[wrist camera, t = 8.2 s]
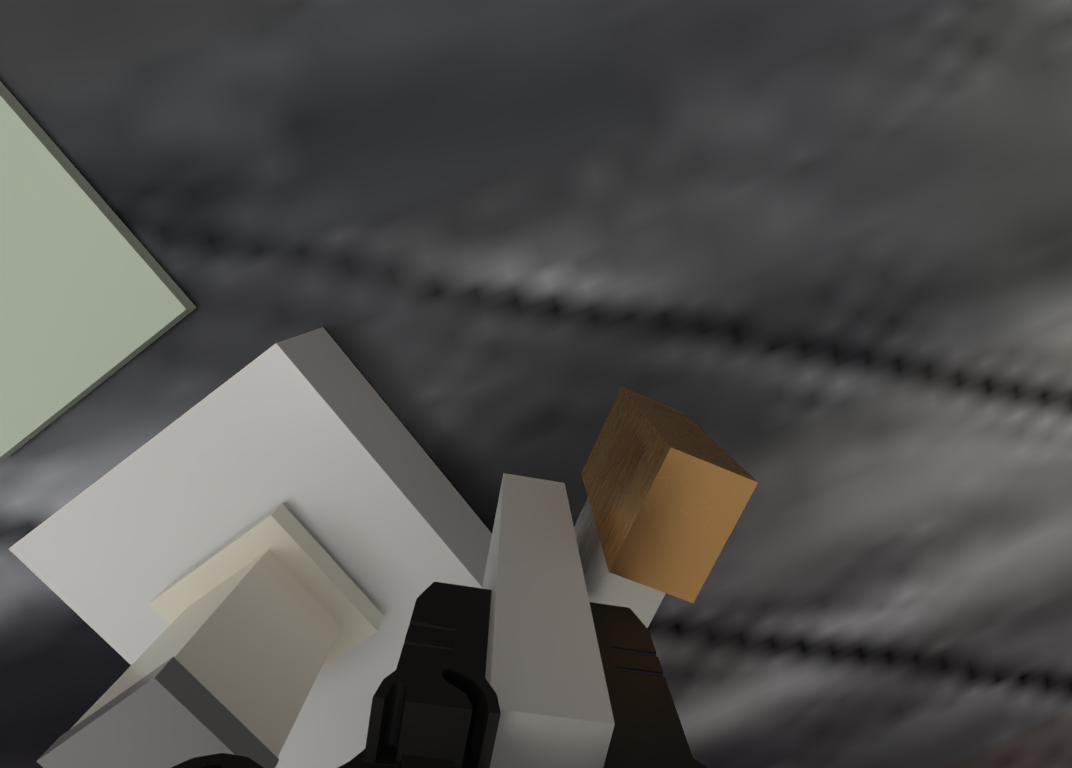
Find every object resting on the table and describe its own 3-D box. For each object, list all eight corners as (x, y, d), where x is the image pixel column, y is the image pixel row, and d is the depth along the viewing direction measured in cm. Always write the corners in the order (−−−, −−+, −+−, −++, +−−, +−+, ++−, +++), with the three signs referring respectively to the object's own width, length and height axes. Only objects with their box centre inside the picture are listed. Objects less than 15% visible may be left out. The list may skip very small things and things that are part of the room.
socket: (363, 762, 31) (228, 1191, 17) (101, 496, 27) (-365, 759, 13) (569, 628, 29) (615, 975, 15) (322, 327, 25) (74, 412, 11)
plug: (314, 614, 29) (151, 897, 16) (231, 526, 27) (-17, 755, 15) (408, 549, 28) (316, 790, 15) (327, 456, 27) (154, 633, 14)
